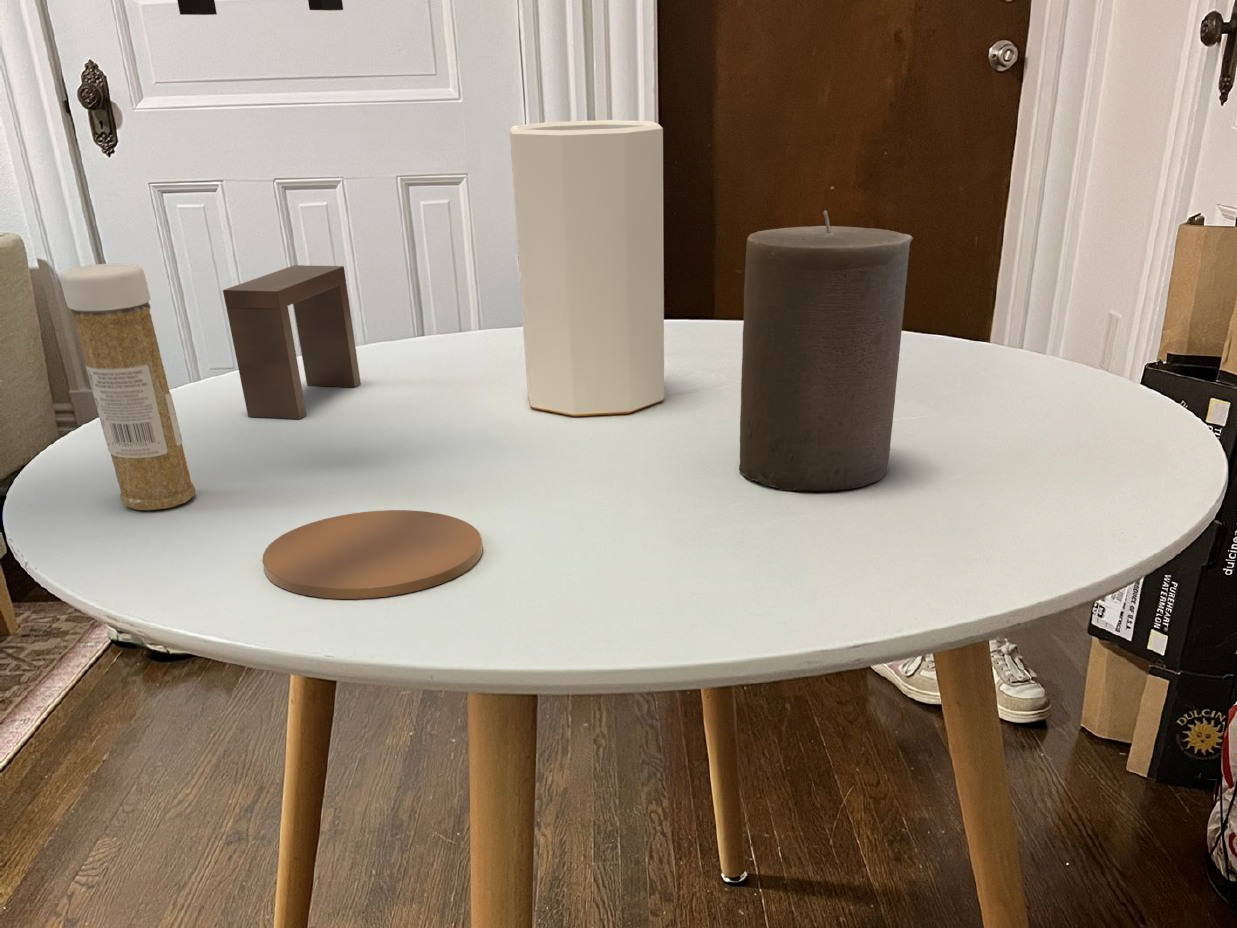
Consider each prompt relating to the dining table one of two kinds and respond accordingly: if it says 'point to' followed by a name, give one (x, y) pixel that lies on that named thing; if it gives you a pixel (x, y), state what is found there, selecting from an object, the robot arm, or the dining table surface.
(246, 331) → the brown arch block
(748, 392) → the pillar candle
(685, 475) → the dining table surface
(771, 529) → the dining table surface
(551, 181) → the cream faceted vase
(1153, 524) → the dining table surface
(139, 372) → the spice jar
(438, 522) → the cork mat
